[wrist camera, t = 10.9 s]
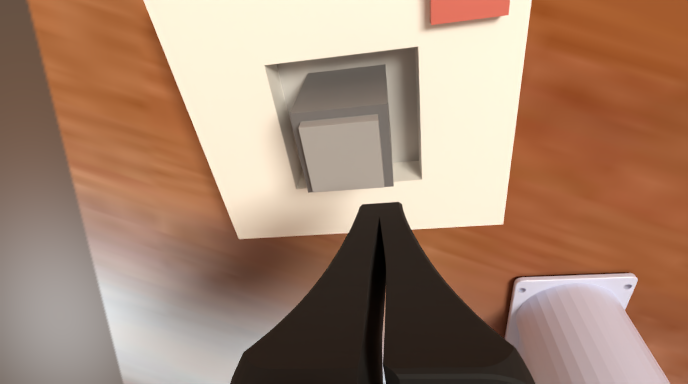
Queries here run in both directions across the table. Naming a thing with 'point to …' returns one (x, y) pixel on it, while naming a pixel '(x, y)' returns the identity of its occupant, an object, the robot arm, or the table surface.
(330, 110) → the plug
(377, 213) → the robot arm
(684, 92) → the table surface
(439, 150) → the faceplate
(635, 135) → the table surface
